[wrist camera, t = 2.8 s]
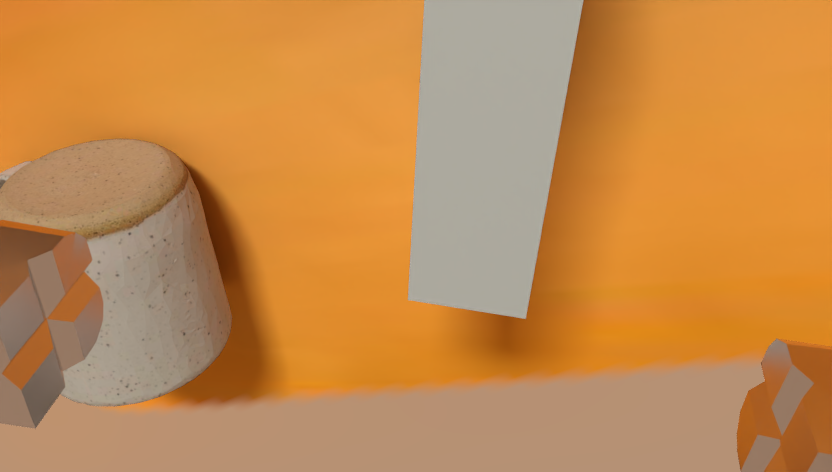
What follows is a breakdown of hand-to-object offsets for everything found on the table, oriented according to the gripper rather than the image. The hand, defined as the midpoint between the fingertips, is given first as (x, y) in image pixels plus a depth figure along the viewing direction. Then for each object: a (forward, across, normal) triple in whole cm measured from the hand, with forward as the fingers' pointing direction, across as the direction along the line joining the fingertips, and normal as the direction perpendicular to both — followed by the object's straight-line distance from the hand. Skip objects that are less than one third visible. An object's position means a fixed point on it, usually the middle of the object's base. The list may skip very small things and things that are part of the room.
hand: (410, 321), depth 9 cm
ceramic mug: (+18, +15, +14) cm, 27 cm away
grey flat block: (+18, 0, 0) cm, 18 cm away
